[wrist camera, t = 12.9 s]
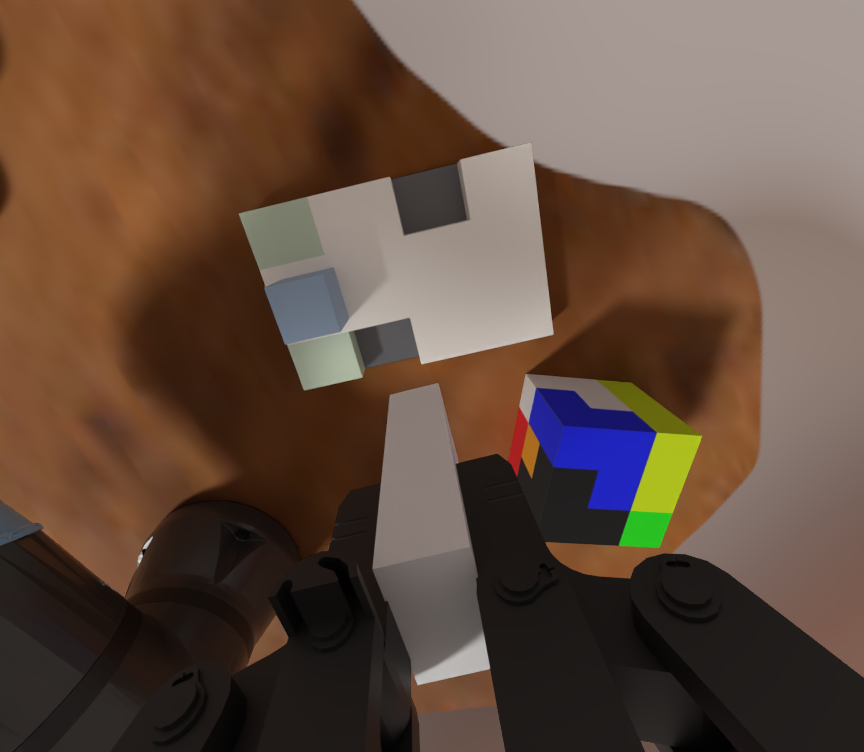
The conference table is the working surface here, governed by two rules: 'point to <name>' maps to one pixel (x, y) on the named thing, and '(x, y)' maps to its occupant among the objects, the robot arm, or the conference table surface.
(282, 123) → the conference table surface
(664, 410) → the puzzle toy
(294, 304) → the block
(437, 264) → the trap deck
